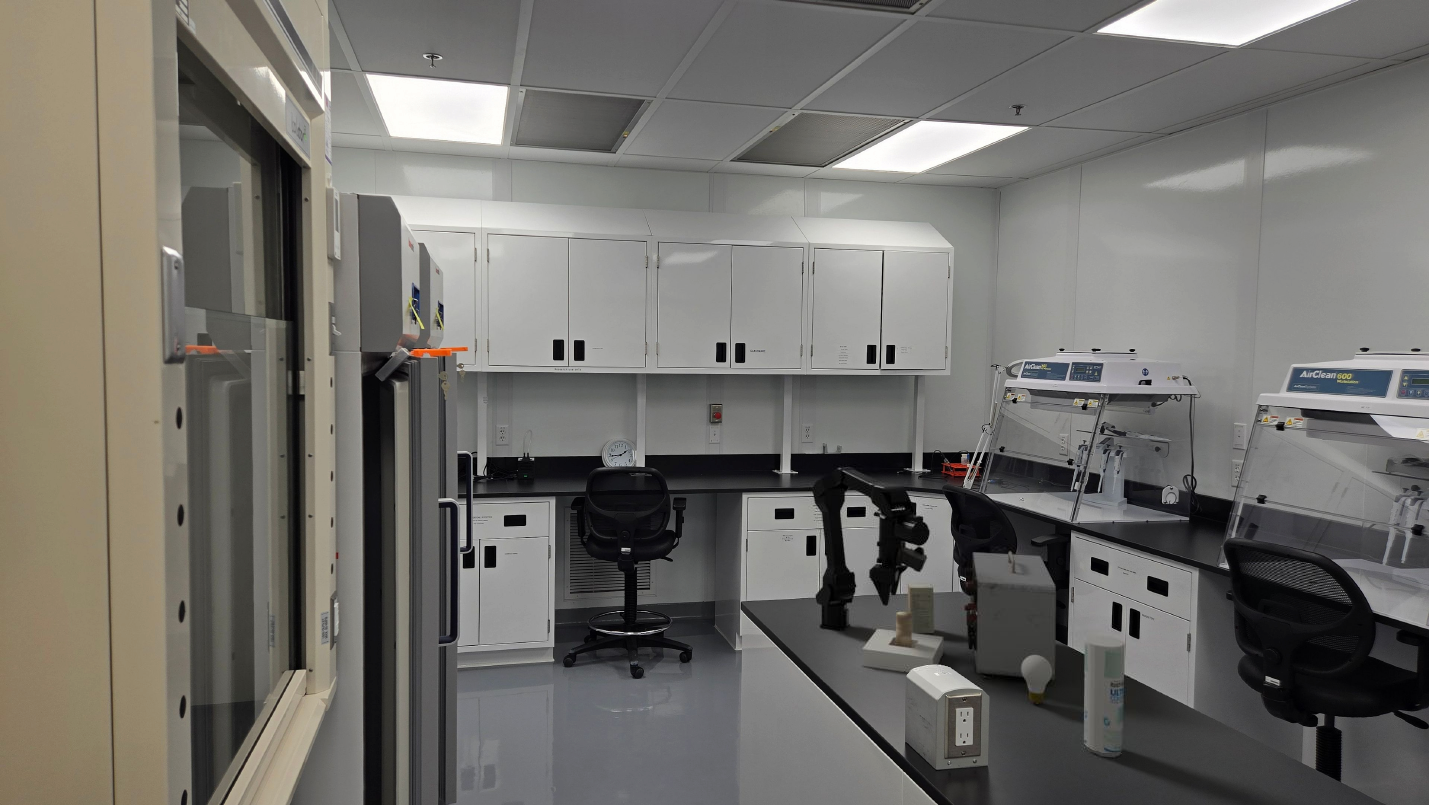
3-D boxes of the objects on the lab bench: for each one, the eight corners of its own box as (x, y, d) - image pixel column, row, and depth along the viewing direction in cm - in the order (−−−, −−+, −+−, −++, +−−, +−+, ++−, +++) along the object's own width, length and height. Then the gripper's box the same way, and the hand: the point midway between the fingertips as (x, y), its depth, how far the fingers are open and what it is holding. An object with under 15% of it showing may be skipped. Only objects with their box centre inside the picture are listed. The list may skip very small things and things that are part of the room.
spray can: (1111, 761, 143) (1112, 649, 142) (1076, 748, 148) (1077, 639, 148) (1129, 751, 147) (1131, 642, 146) (1095, 738, 152) (1096, 632, 151)
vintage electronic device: (963, 634, 212) (964, 539, 211) (1038, 640, 207) (1039, 543, 206) (967, 679, 181) (967, 568, 180) (1054, 688, 176) (1056, 573, 175)
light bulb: (1050, 700, 170) (1051, 652, 169) (1052, 711, 164) (1053, 662, 164) (1020, 696, 172) (1021, 649, 171) (1021, 707, 166) (1021, 659, 166)
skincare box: (931, 628, 217) (931, 583, 216) (934, 634, 212) (934, 587, 212) (907, 628, 217) (907, 582, 217) (909, 633, 213) (909, 587, 213)
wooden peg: (894, 657, 193) (894, 615, 193) (897, 652, 196) (897, 611, 196) (910, 659, 192) (910, 617, 191) (912, 654, 195) (912, 612, 194)
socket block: (862, 665, 190) (862, 648, 190) (877, 644, 204) (877, 628, 204) (932, 676, 183) (932, 658, 183) (943, 653, 198) (943, 637, 198)
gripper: (917, 549, 187) (915, 615, 188) (931, 532, 204) (929, 594, 205) (869, 544, 191) (868, 609, 192) (886, 528, 208) (885, 588, 209)
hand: (889, 600), depth 200 cm, fingers open, 9 cm apart
